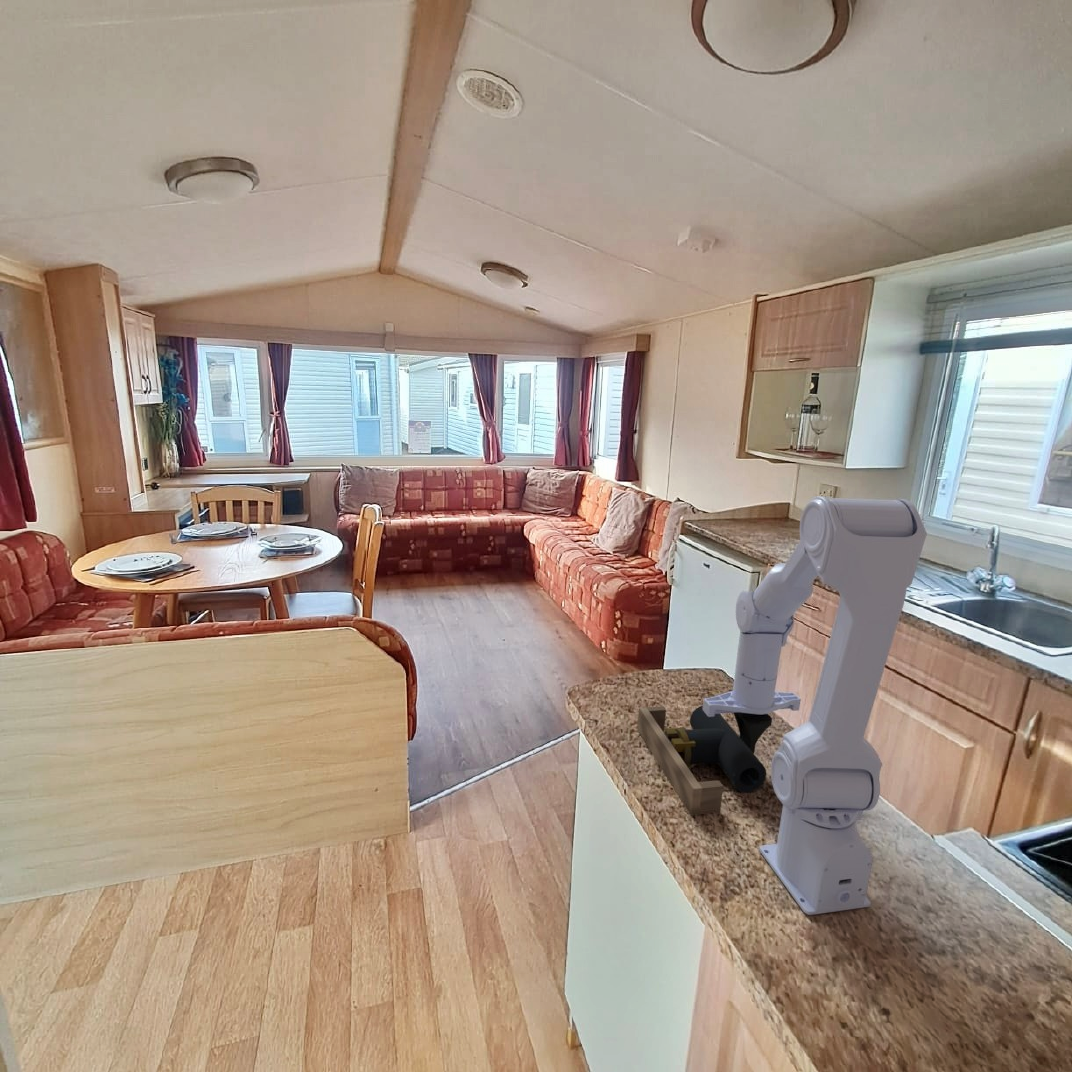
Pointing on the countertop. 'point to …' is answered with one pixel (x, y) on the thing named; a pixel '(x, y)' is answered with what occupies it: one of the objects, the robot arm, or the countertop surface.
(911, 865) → the countertop surface
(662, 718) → the stop rail
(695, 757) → the pipe connector
